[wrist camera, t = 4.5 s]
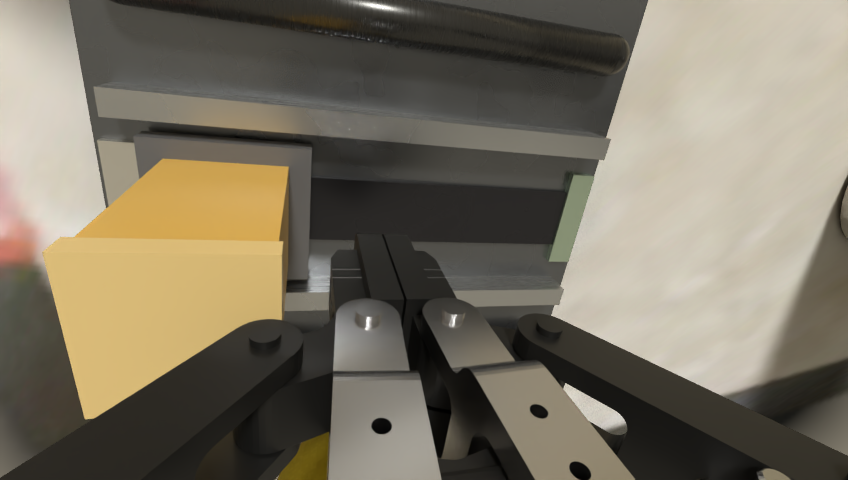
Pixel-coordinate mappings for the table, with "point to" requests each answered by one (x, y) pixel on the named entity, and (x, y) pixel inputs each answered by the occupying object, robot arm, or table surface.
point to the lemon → (309, 461)
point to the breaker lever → (180, 258)
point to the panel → (384, 120)
